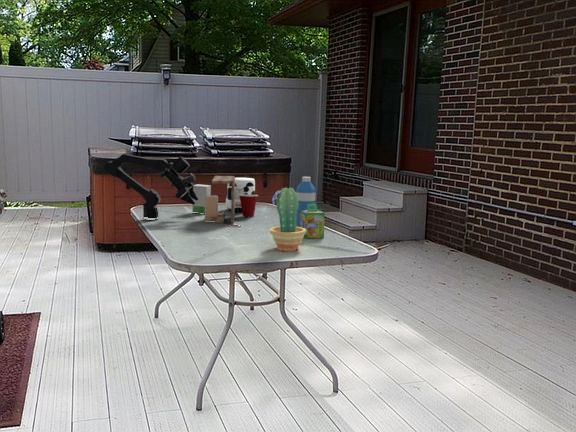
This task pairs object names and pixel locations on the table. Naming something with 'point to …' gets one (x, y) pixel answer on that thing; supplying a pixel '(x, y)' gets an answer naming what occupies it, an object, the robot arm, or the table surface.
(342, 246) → the table surface
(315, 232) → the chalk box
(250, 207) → the plastic cup
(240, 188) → the milk container
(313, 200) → the water bottle
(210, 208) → the terracotta box
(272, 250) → the table surface
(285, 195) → the potted cactus
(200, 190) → the skincare box
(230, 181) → the shelf
